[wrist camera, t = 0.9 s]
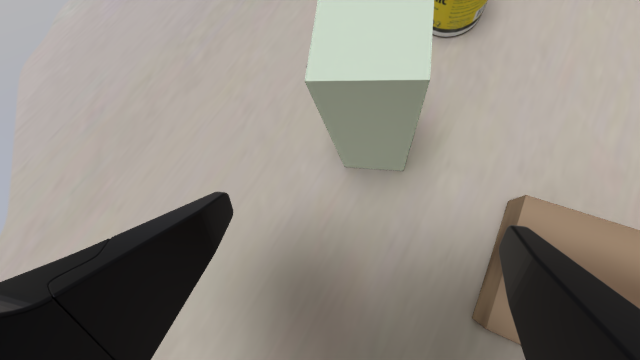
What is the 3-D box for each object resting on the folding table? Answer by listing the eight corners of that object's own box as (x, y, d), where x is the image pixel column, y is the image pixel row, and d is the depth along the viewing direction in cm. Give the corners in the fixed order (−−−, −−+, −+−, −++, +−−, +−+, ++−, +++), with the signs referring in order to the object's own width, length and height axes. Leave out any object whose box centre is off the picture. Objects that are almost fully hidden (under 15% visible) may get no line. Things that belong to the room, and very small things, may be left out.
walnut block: (622, 385, 17) (672, 414, 14) (470, 316, 19) (486, 328, 16) (652, 249, 18) (703, 250, 15) (505, 201, 20) (526, 195, 18)
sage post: (403, 171, 22) (430, 79, 10) (344, 166, 24) (304, 81, 11) (407, 116, 23) (435, -27, 11) (350, 115, 25) (320, -15, 12)
